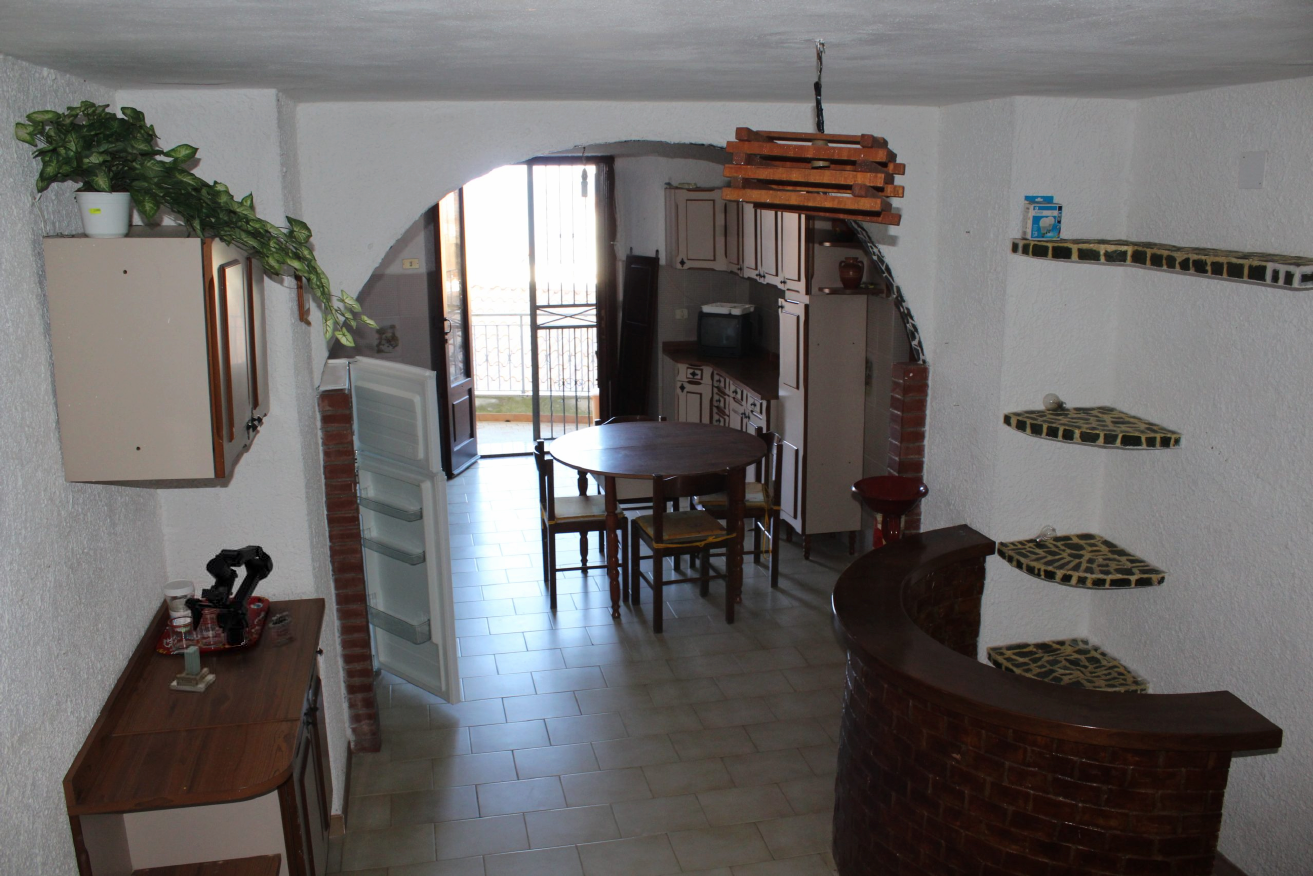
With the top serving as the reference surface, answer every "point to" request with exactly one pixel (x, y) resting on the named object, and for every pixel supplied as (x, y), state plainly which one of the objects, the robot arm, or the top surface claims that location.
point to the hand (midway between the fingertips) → (208, 632)
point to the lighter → (280, 630)
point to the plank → (192, 661)
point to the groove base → (193, 681)
